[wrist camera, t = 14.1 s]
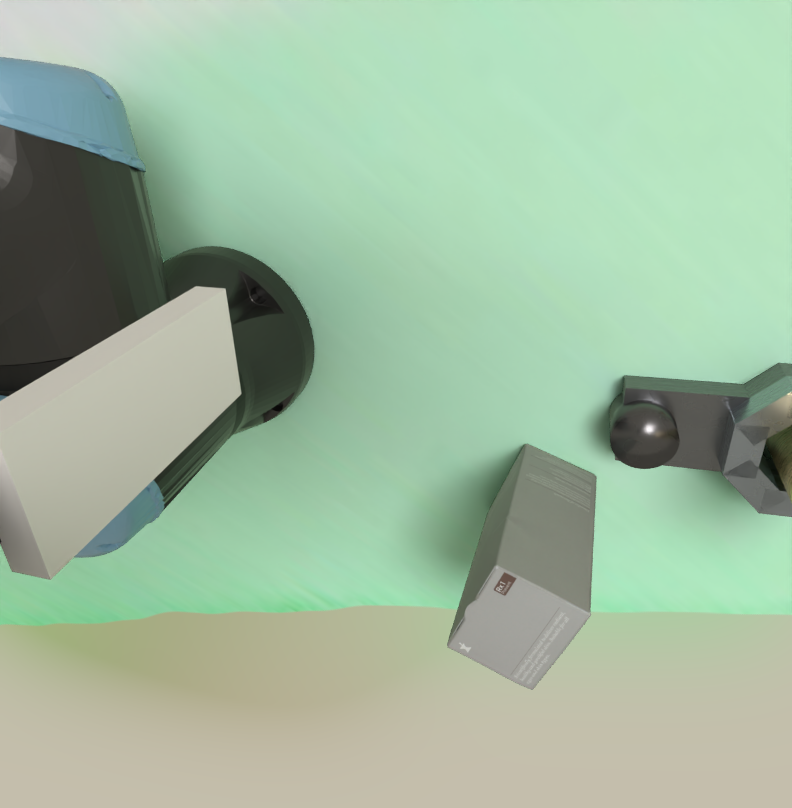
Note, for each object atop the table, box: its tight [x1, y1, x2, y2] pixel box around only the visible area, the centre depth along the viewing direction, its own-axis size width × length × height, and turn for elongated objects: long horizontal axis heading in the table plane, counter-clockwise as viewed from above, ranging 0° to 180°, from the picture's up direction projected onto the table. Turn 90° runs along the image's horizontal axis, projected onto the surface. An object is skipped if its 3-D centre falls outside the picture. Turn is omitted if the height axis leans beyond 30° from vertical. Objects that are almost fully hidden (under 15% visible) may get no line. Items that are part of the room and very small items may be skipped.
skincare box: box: [447, 444, 596, 690], centre depth 45 cm, size 8×7×16 cm
